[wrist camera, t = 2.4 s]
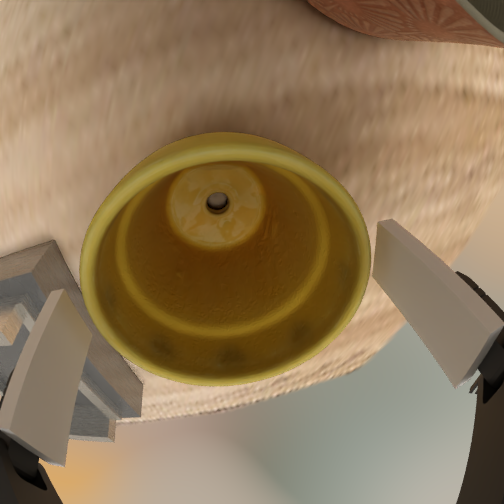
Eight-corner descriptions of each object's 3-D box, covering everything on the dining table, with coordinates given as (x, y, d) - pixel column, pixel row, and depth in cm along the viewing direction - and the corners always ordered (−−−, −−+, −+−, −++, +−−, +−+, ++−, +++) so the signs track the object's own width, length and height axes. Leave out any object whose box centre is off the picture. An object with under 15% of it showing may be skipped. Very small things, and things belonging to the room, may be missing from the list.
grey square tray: (-59, 267, 15) (-94, 314, 9) (47, 222, 16) (-7, 289, 10) (29, 387, 25) (17, 433, 19) (143, 385, 26) (139, 447, 20)
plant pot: (200, 80, 14) (197, 61, 5) (326, 184, 18) (416, 268, 10) (105, 218, 17) (47, 327, 9) (229, 290, 21) (250, 406, 13)
